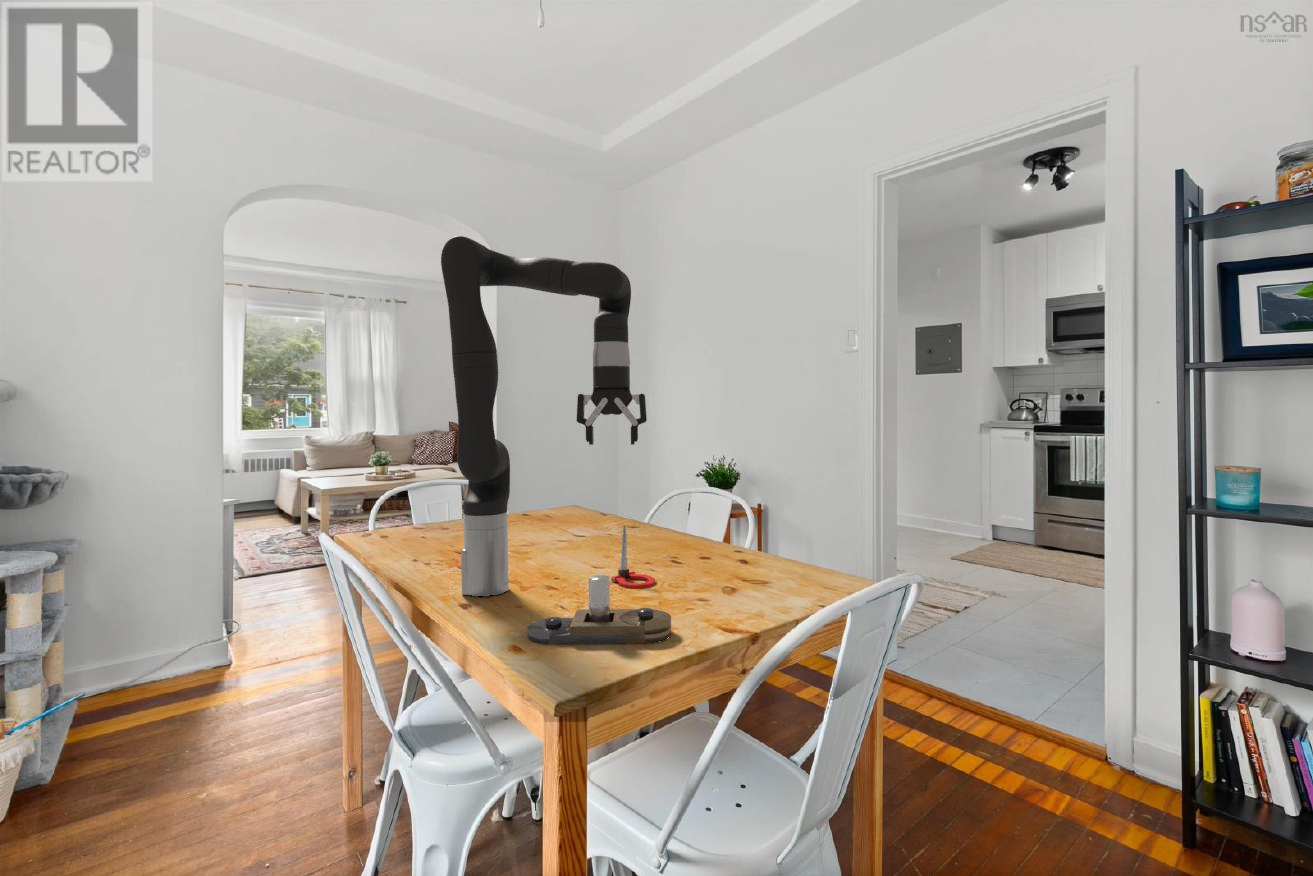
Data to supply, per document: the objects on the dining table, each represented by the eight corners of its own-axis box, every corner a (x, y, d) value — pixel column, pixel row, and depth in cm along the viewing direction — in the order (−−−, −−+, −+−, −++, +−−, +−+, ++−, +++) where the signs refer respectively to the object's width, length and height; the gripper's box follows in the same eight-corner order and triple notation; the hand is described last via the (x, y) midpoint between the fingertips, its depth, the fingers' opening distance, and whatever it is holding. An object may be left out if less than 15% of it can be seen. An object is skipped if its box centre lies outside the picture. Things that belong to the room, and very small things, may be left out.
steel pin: (588, 638, 108) (587, 580, 107) (590, 630, 111) (589, 575, 111) (609, 638, 108) (608, 580, 107) (610, 630, 111) (610, 574, 111)
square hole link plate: (522, 644, 105) (522, 619, 105) (533, 626, 114) (532, 603, 114) (671, 643, 105) (671, 618, 105) (670, 625, 114) (670, 602, 114)
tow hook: (662, 584, 142) (633, 576, 149) (664, 528, 141) (635, 522, 148) (636, 593, 136) (607, 583, 143) (638, 534, 135) (608, 527, 142)
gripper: (574, 364, 125) (575, 445, 125) (645, 363, 125) (646, 445, 125) (578, 366, 132) (579, 443, 133) (646, 366, 132) (647, 443, 133)
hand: (612, 444), depth 129 cm, fingers open, 8 cm apart
